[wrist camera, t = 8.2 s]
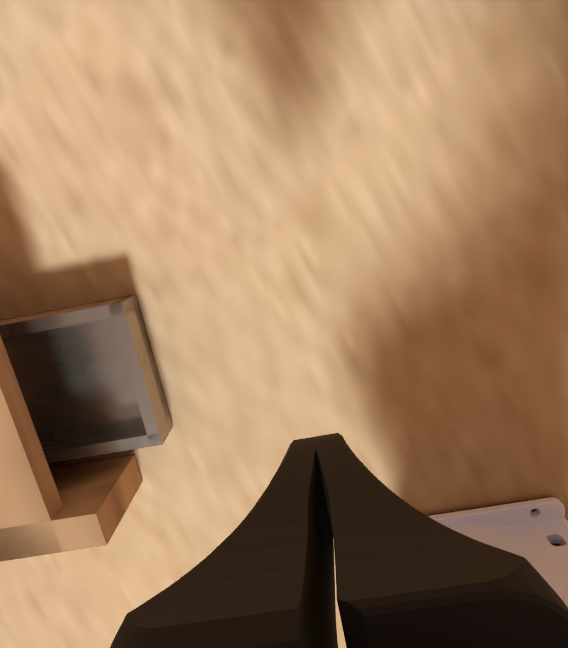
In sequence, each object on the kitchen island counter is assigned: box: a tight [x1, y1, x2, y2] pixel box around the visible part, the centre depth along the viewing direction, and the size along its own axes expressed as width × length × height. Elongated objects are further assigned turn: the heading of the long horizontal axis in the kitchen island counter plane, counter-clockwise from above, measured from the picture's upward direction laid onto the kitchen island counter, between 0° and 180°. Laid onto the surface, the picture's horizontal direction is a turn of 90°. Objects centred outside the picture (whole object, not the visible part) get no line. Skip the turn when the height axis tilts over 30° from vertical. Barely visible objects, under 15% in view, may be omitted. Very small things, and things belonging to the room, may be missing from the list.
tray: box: [0, 295, 173, 464], centre depth 21 cm, size 10×7×2 cm
